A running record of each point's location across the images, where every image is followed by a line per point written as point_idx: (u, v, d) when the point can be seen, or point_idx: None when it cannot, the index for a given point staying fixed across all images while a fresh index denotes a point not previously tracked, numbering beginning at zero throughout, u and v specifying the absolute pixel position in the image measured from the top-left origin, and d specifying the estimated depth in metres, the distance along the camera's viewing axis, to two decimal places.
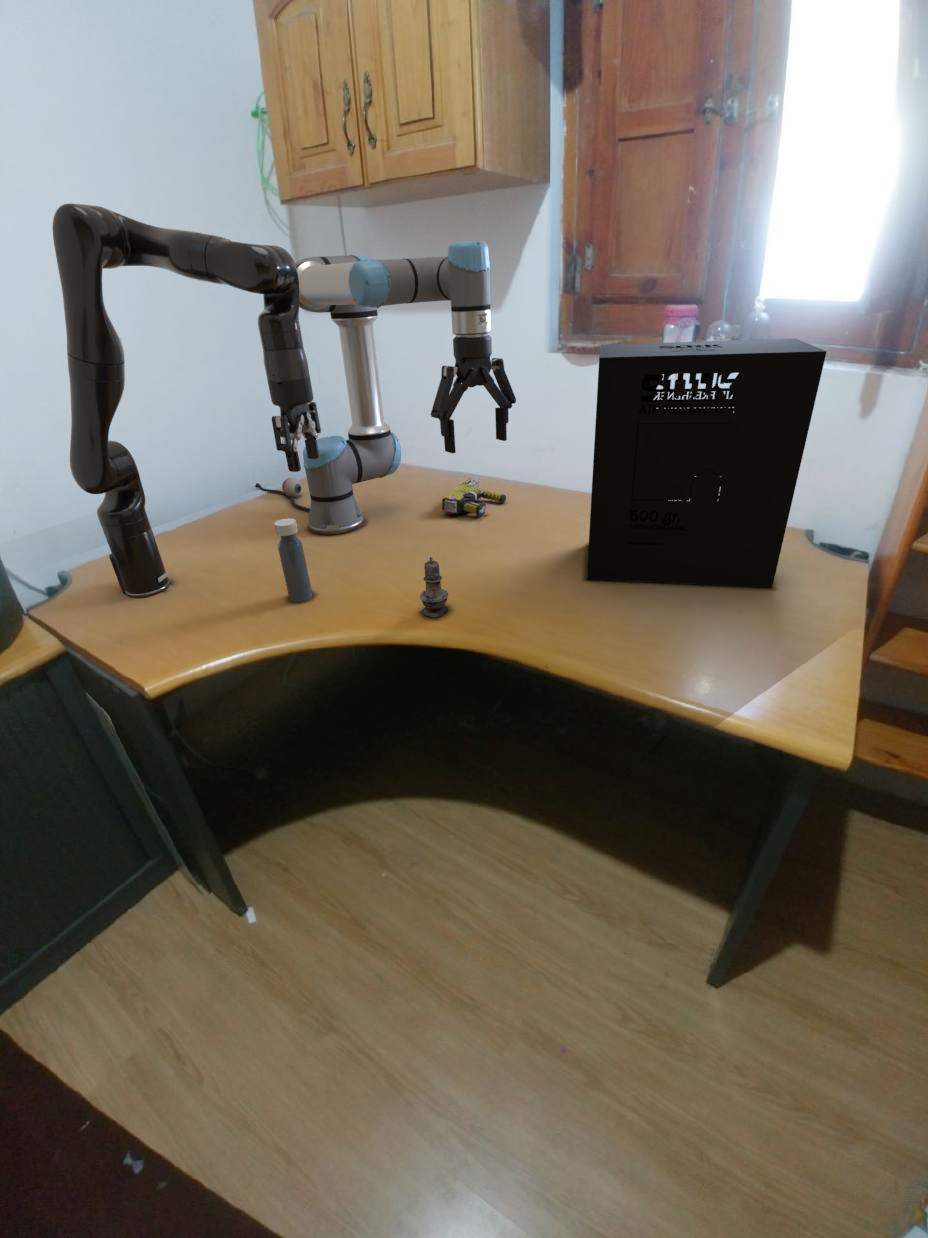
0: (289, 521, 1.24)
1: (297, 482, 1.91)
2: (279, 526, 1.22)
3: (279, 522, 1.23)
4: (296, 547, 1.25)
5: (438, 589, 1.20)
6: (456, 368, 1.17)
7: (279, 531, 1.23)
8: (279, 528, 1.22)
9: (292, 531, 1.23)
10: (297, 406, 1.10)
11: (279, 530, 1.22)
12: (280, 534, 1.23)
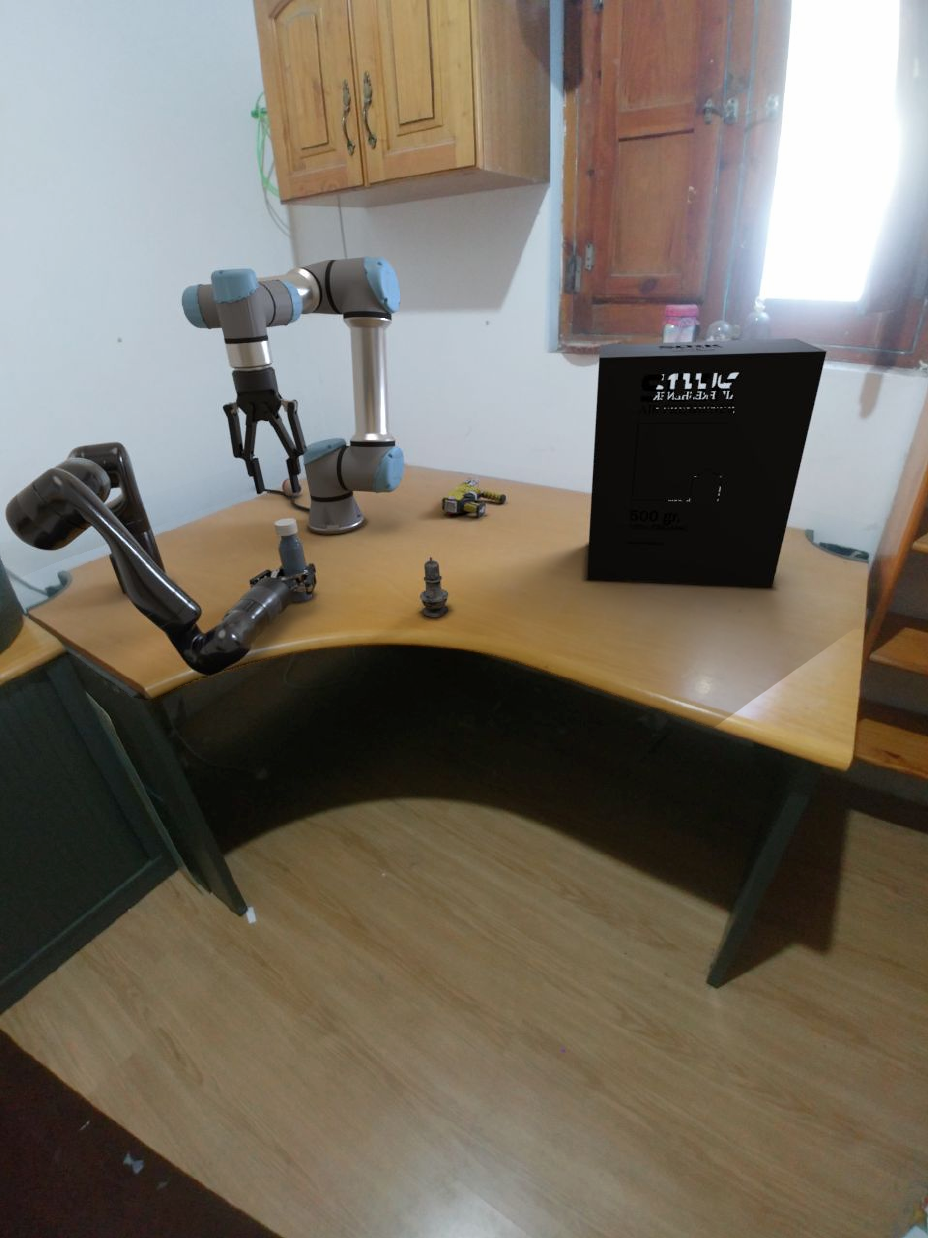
0: (289, 521, 1.24)
1: None
2: (279, 526, 1.22)
3: (279, 522, 1.23)
4: (296, 547, 1.25)
5: (438, 589, 1.20)
6: None
7: (279, 531, 1.23)
8: (279, 528, 1.22)
9: (292, 531, 1.23)
10: None
11: (279, 530, 1.22)
12: (280, 534, 1.23)
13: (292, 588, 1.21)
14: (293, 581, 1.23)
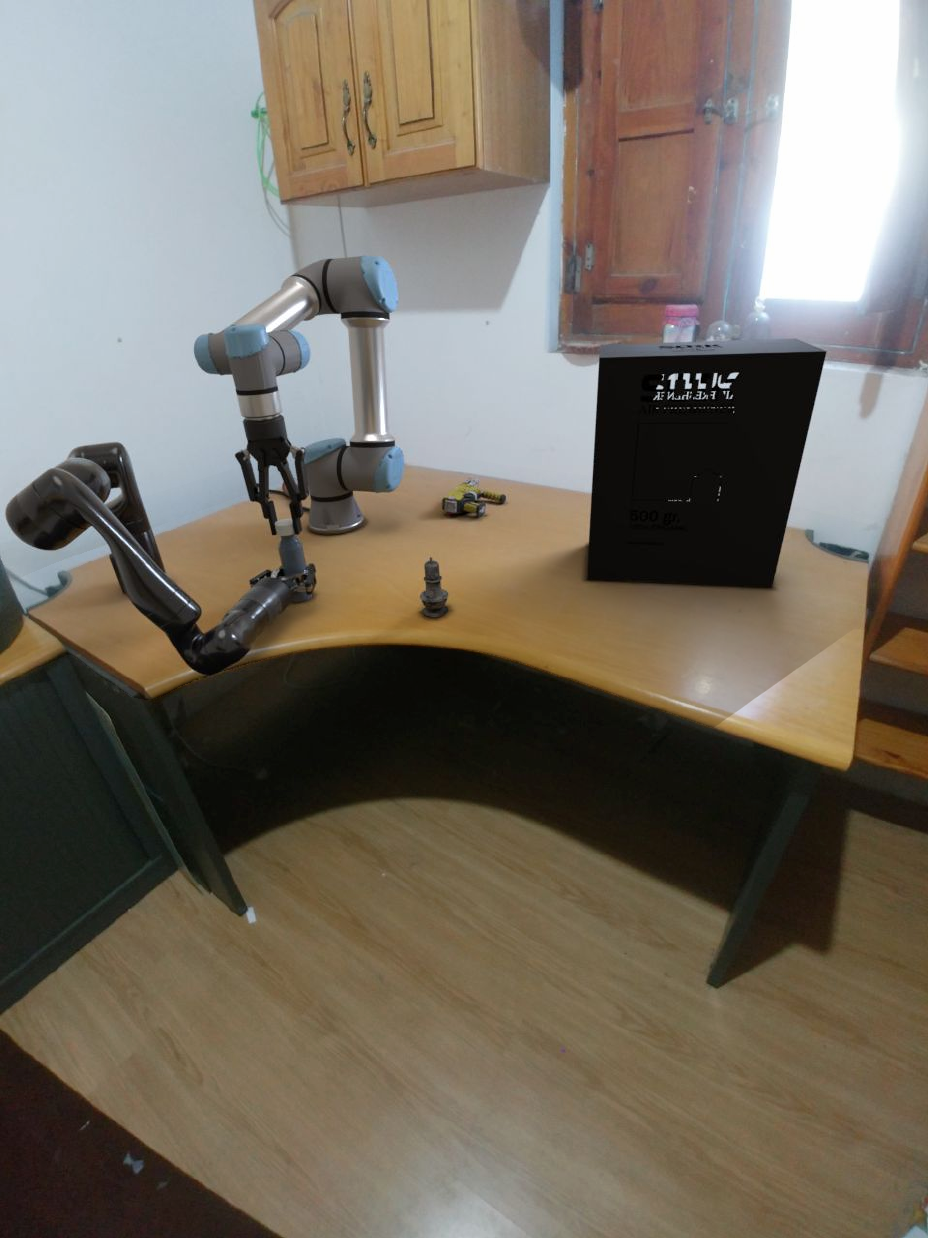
0: (289, 521, 1.24)
1: (297, 482, 1.91)
2: (279, 526, 1.22)
3: (279, 522, 1.23)
4: (296, 547, 1.25)
5: (438, 589, 1.20)
6: None
7: (279, 531, 1.23)
8: (279, 528, 1.22)
9: (292, 531, 1.23)
10: None
11: (279, 530, 1.22)
12: (280, 534, 1.23)
13: (292, 588, 1.21)
14: (293, 581, 1.23)
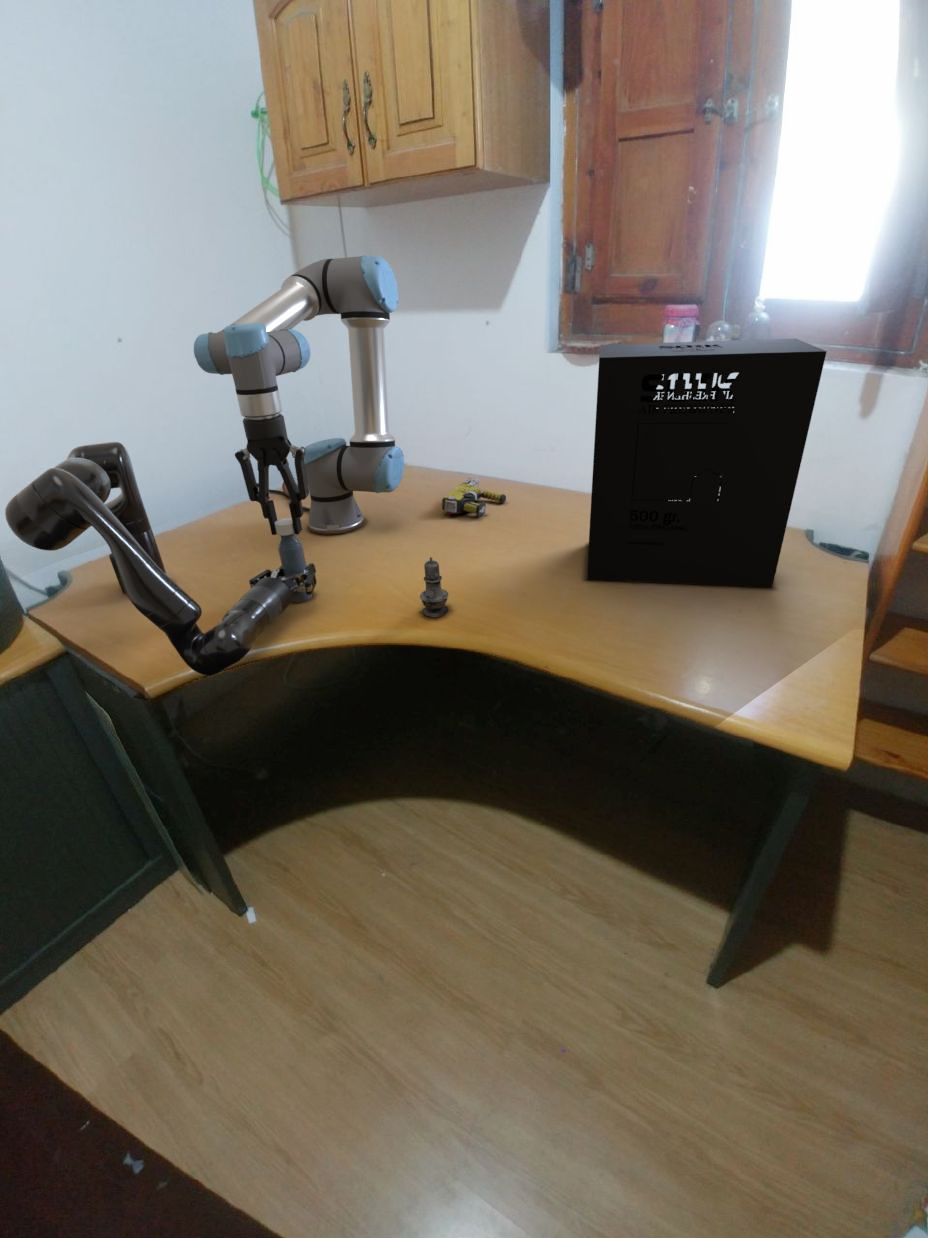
0: (283, 520, 1.24)
1: (297, 482, 1.91)
2: None
3: (286, 523, 1.23)
4: (296, 547, 1.25)
5: (438, 589, 1.20)
6: None
7: None
8: None
9: None
10: None
11: None
12: None
13: (292, 588, 1.21)
14: (293, 581, 1.23)
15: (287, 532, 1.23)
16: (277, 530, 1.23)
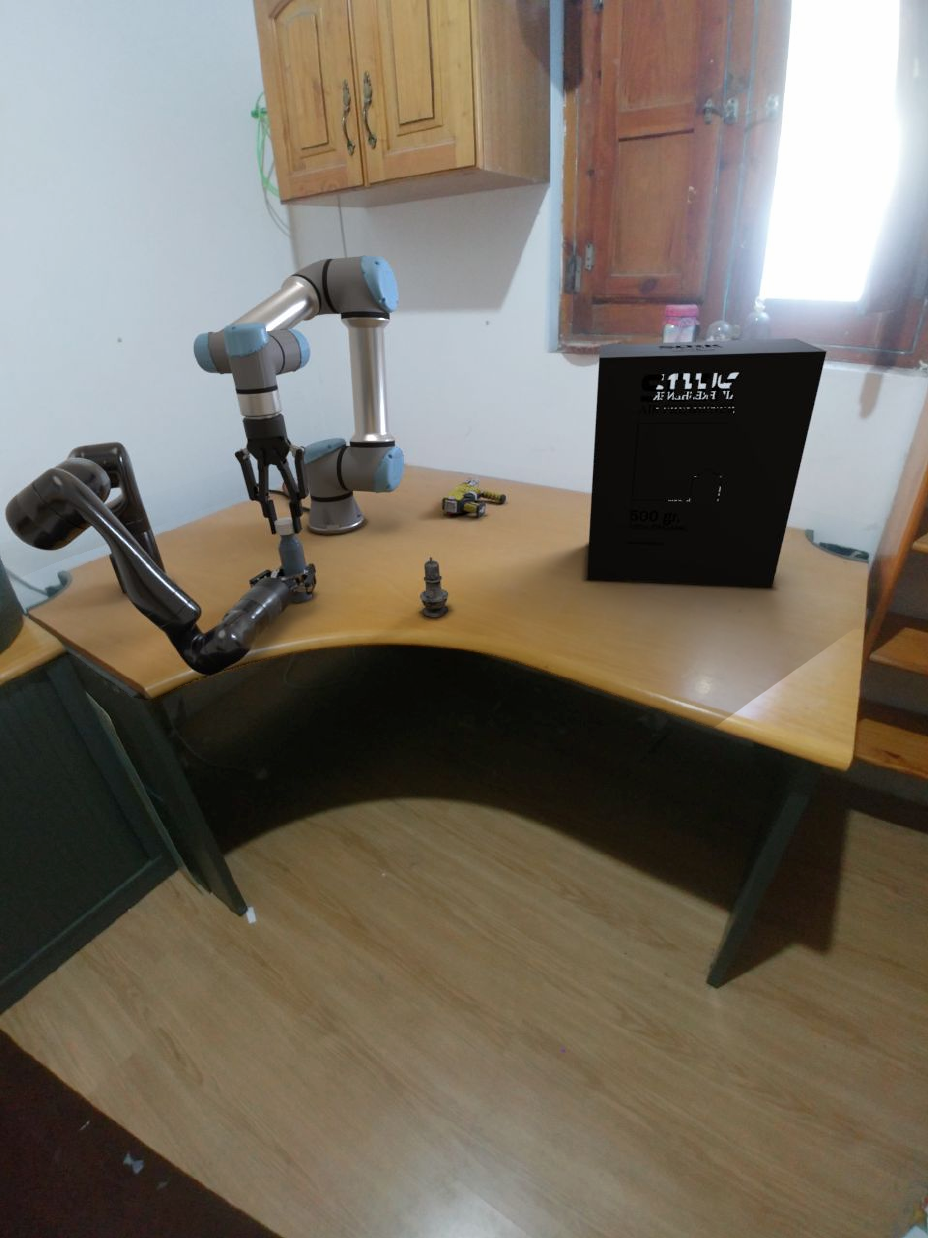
0: (282, 522, 1.23)
1: (297, 482, 1.91)
2: None
3: (288, 519, 1.24)
4: (296, 547, 1.25)
5: (438, 589, 1.20)
6: None
7: None
8: None
9: (276, 529, 1.24)
10: None
11: None
12: None
13: (292, 588, 1.21)
14: (293, 581, 1.23)
15: None
16: None
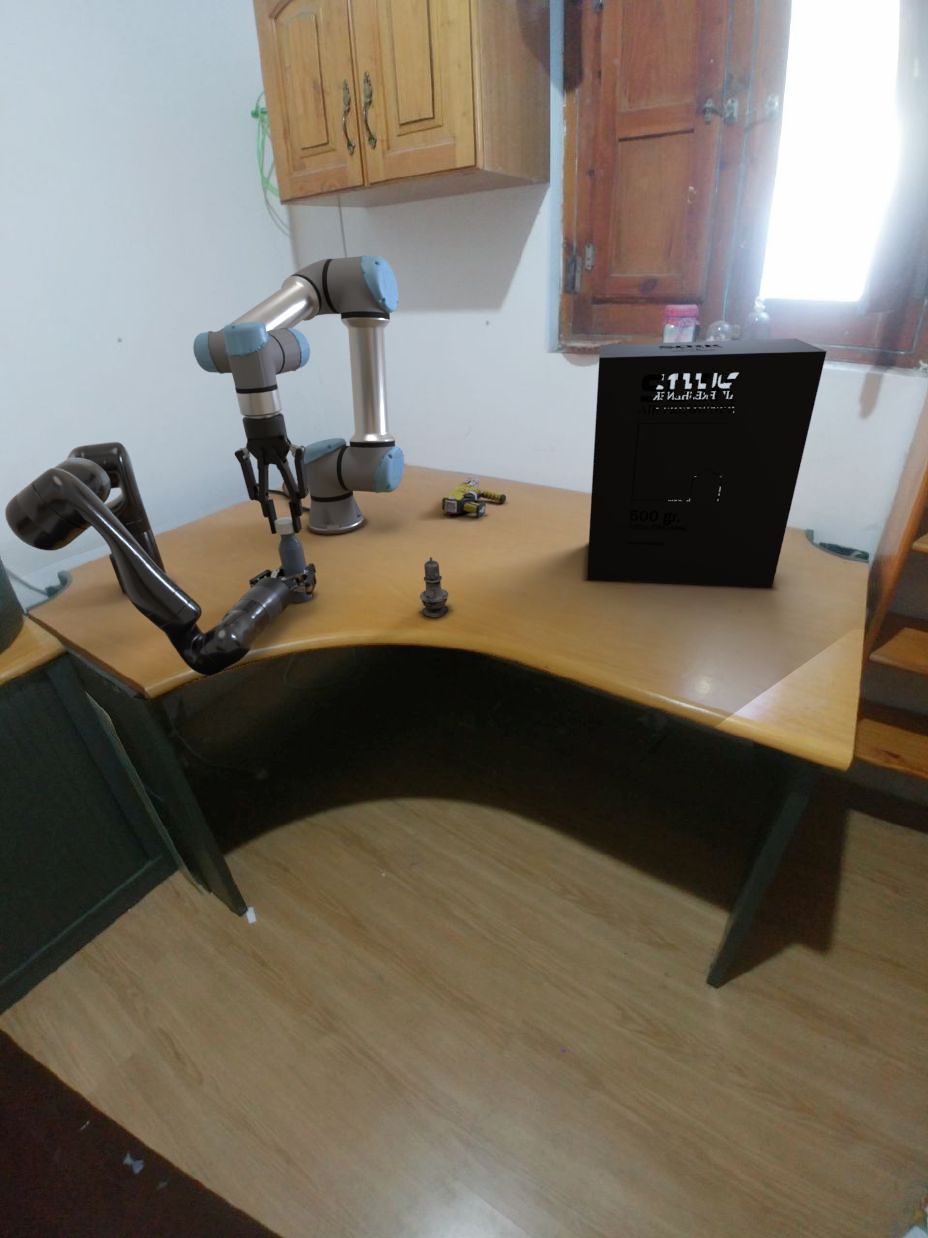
0: (289, 520, 1.23)
1: (297, 482, 1.91)
2: (279, 525, 1.22)
3: (279, 520, 1.23)
4: (296, 547, 1.25)
5: (438, 589, 1.20)
6: None
7: (278, 530, 1.23)
8: (278, 526, 1.22)
9: (291, 530, 1.23)
10: None
11: (278, 528, 1.22)
12: (279, 532, 1.23)
13: (292, 588, 1.21)
14: (293, 581, 1.23)
15: None
16: None
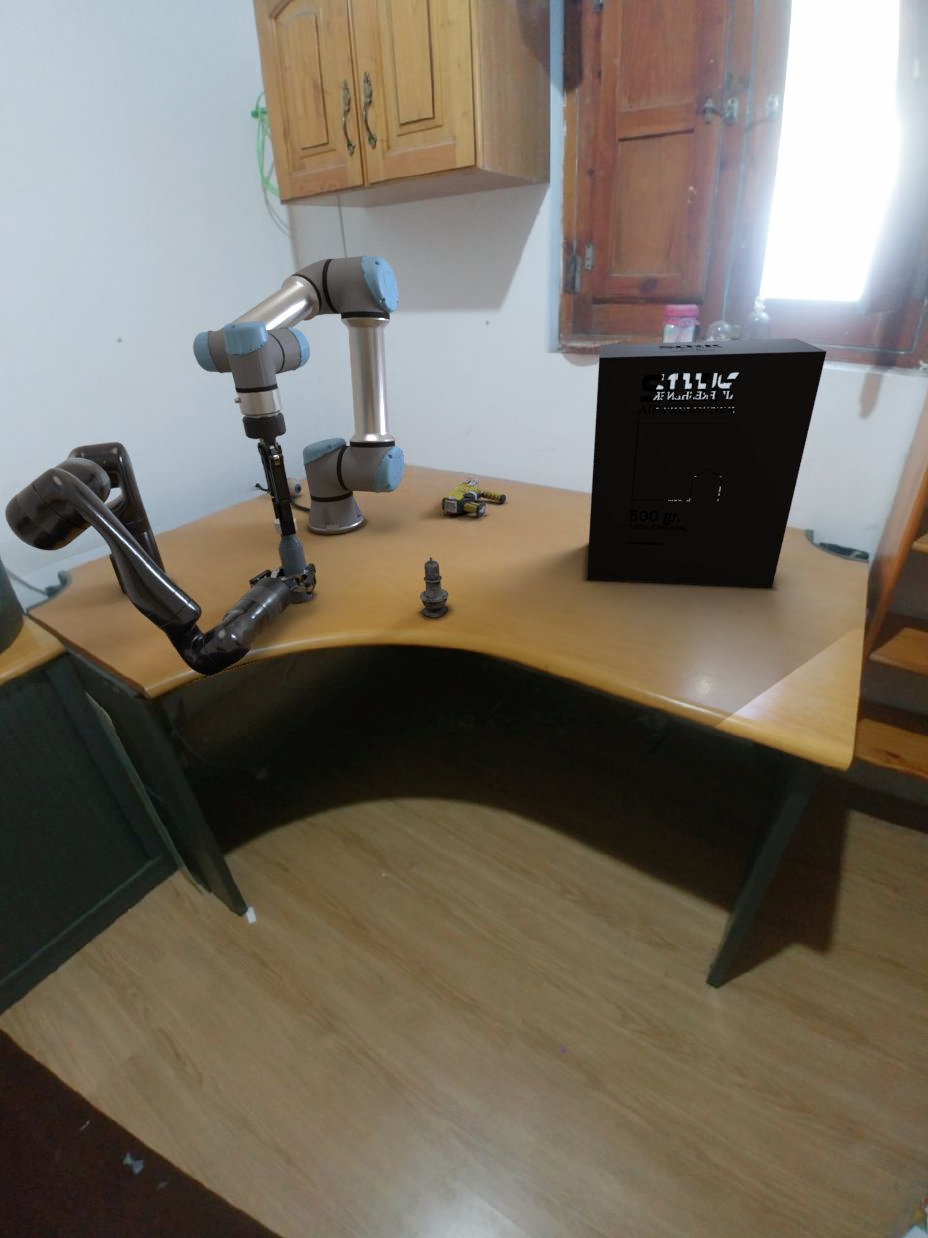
0: None
1: (297, 482, 1.91)
2: (295, 520, 1.24)
3: None
4: (296, 547, 1.25)
5: (438, 589, 1.20)
6: None
7: (295, 526, 1.24)
8: (295, 522, 1.24)
9: None
10: None
11: (296, 524, 1.24)
12: (296, 528, 1.24)
13: (292, 588, 1.21)
14: (293, 581, 1.23)
15: None
16: (276, 528, 1.23)
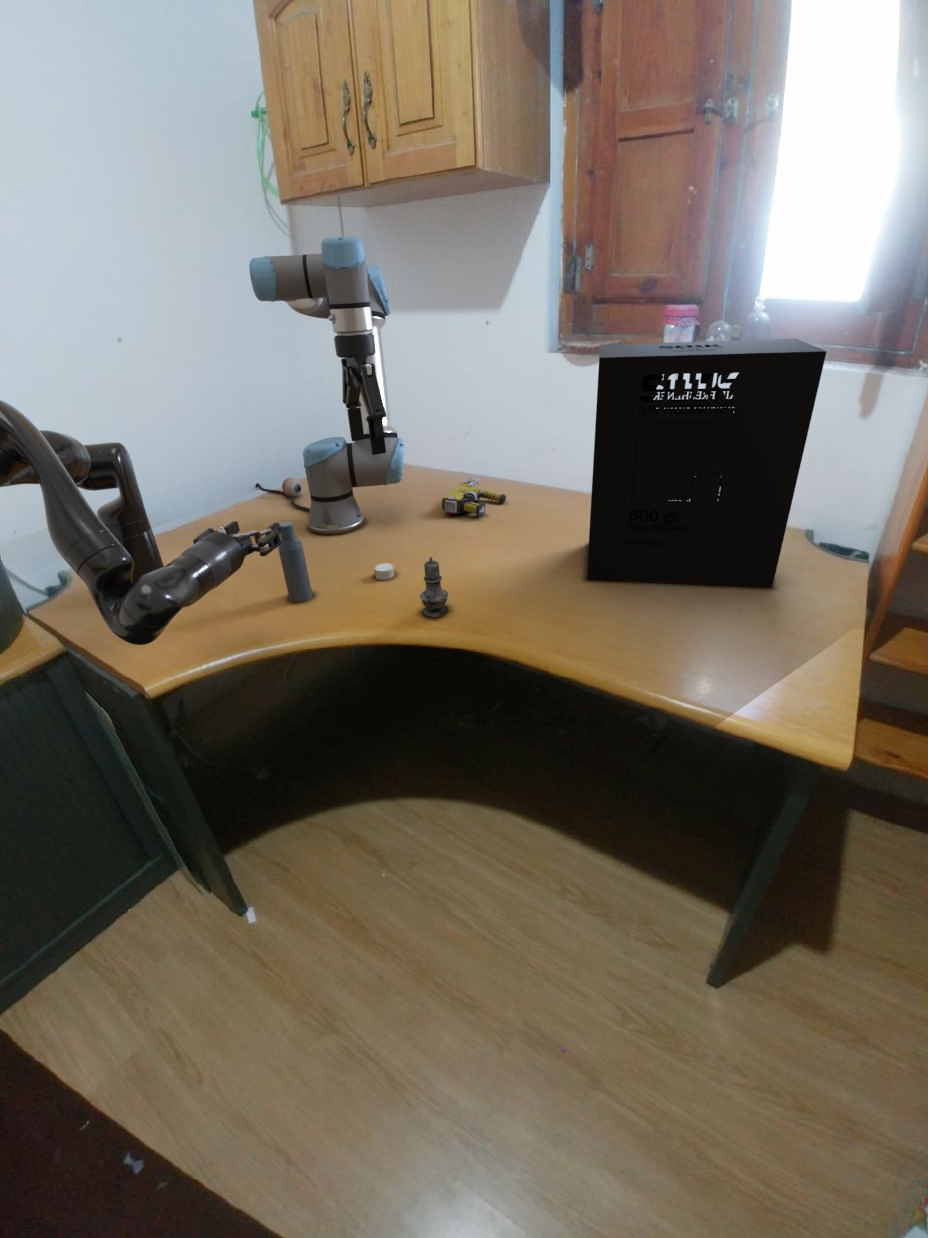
0: (381, 566, 1.39)
1: (297, 482, 1.91)
2: (392, 567, 1.39)
3: (385, 568, 1.37)
4: (296, 547, 1.25)
5: (438, 589, 1.20)
6: None
7: (393, 572, 1.39)
8: (393, 568, 1.39)
9: None
10: None
11: (393, 570, 1.39)
12: (393, 574, 1.39)
13: (245, 546, 1.03)
14: (247, 538, 1.05)
15: (386, 577, 1.37)
16: (377, 575, 1.38)
